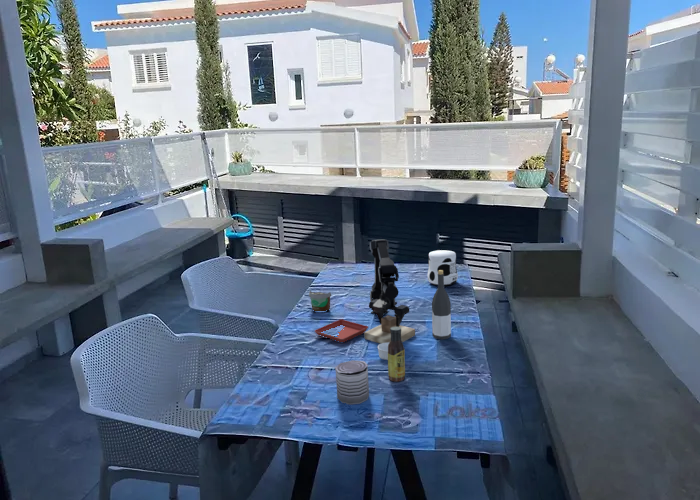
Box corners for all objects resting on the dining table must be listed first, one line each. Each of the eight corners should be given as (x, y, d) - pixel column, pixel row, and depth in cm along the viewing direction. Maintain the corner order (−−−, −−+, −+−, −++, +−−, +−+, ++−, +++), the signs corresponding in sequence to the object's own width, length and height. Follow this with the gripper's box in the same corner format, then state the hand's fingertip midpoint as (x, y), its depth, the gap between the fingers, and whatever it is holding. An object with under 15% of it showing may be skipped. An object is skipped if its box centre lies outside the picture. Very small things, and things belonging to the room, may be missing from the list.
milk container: (427, 279, 328) (426, 250, 324) (457, 279, 325) (456, 249, 321) (427, 288, 311) (426, 257, 307) (458, 287, 309) (458, 256, 305)
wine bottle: (450, 339, 237) (450, 273, 231) (431, 339, 239) (430, 273, 232) (451, 332, 245) (450, 268, 238) (432, 332, 247) (431, 268, 240)
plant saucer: (313, 337, 250) (313, 330, 249) (341, 325, 263) (340, 318, 262) (342, 346, 238) (342, 339, 237) (369, 333, 251) (369, 326, 250)
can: (344, 407, 186) (342, 375, 183) (332, 393, 196) (330, 362, 193) (374, 399, 190) (373, 367, 188) (361, 386, 200) (359, 355, 198)
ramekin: (387, 350, 231) (387, 340, 230) (404, 355, 225) (403, 345, 224) (373, 357, 225) (373, 347, 224) (389, 362, 219) (389, 352, 218)
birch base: (364, 338, 244) (364, 332, 243) (387, 327, 255) (386, 321, 254) (393, 347, 233) (392, 340, 232) (415, 335, 244) (415, 329, 244)
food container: (305, 312, 282) (304, 293, 279) (310, 308, 287) (309, 290, 285) (327, 314, 277) (326, 295, 275) (332, 310, 283) (331, 291, 280)
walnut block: (381, 331, 243) (381, 318, 242) (388, 327, 247) (388, 315, 246) (390, 333, 240) (390, 320, 239) (397, 330, 244) (397, 317, 242)
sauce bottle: (400, 384, 200) (398, 333, 196) (385, 380, 204) (383, 330, 199) (408, 376, 206) (406, 326, 201) (393, 373, 209) (391, 324, 205)
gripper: (359, 293, 240) (361, 326, 243) (393, 300, 227) (395, 335, 231) (376, 286, 248) (377, 319, 251) (409, 293, 235) (410, 327, 239)
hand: (389, 325), depth 243 cm, fingers open, 9 cm apart
